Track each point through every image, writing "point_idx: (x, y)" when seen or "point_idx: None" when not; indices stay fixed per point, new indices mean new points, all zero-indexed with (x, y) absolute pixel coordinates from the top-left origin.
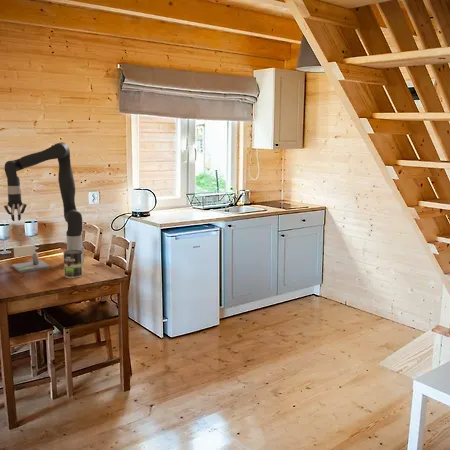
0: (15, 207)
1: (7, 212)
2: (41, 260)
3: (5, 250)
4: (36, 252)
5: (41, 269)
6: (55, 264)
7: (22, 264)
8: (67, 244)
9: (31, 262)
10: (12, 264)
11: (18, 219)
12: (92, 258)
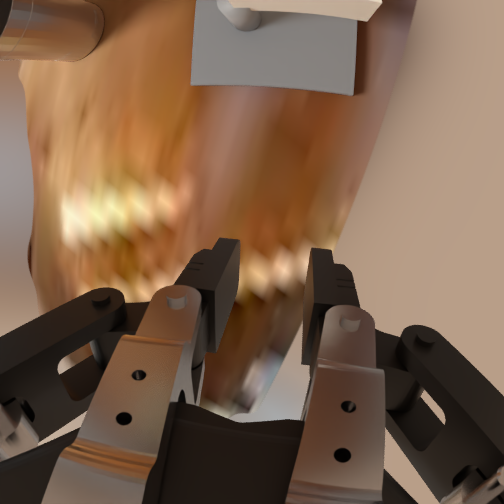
0: (238, 473)
1: (427, 406)
2: (194, 82)
3: (258, 401)
4: (221, 11)
5: None
6: (157, 18)
7: (308, 53)
8: (47, 9)
9: (253, 68)
10: (352, 90)
11: (236, 261)
12: (22, 65)
